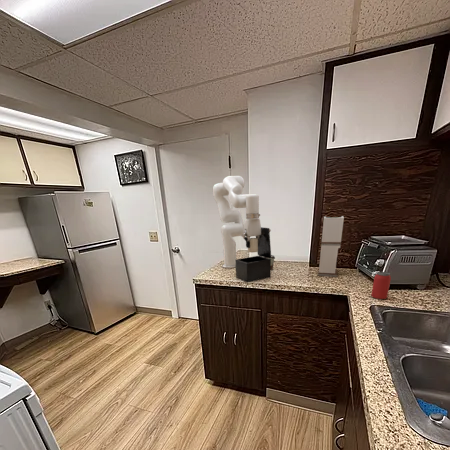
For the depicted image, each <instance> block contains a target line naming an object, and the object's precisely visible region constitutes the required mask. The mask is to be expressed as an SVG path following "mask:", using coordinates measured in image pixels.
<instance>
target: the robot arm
mask: <svg viewBox="0 0 450 450" xmlns="http://www.w3.org/2000/svg"><path fill="white" fill-rule="evenodd" d="M244 187H245V179H244V178H243V176H241V175H228V176H225V177H224V178H223V180H222V182H218V183H215V184H214V185H213V187H212V195H213V199H214V201H215V203H216V205H217V209H218V214H219V218H220V221H221V223H224V224H223V225H221V227H220V233H221V238H222V247H223V264H222V268H224V269H236V261H235V260H236V259H237V242H236V240H235V239H234V238H235V237H242V239H243V240H244V241H245V246H246V248H247V249H248V248H250V241H249V239H250V238H252V237H254V238H258V246H259V244H260V238H261V237H262V235H263V233H262V230H261V227H262V225H261V219H260V217H261V214H260V202H259V201H260V196H259V194H258V193H249V194H248V193H247V194H242V193H243V190H244ZM225 196H228V199H227V198H226V197H225ZM230 204H231V206H232V207H233V208H231V206H230ZM240 209H245V219H244V220H243V215H242V212H241V210H240Z"/></svg>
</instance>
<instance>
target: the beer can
mask: <svg viewBox="0 0 450 450" xmlns="http://www.w3.org/2000/svg"><path fill="white" fill-rule="evenodd" d="M391 280H392V277H391V273H390V272H386V271H378V272H376V273H375V276H374V278H373V282H372V289H371V298H373V299H376V300H386V299H387V298H388V295H389V290H390V286H391Z"/></svg>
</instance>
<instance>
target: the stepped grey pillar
mask: <svg viewBox="0 0 450 450" xmlns="http://www.w3.org/2000/svg"><path fill="white" fill-rule="evenodd" d="M344 221H345V217H344V215H341V216H339V217H327V216H323V224H322V235H321V243H320V255H319V266H318V276H319V277H334V278H335V277H338V269H337V261H338V253H339V249H341V246H342V237H343V229H344Z"/></svg>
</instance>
